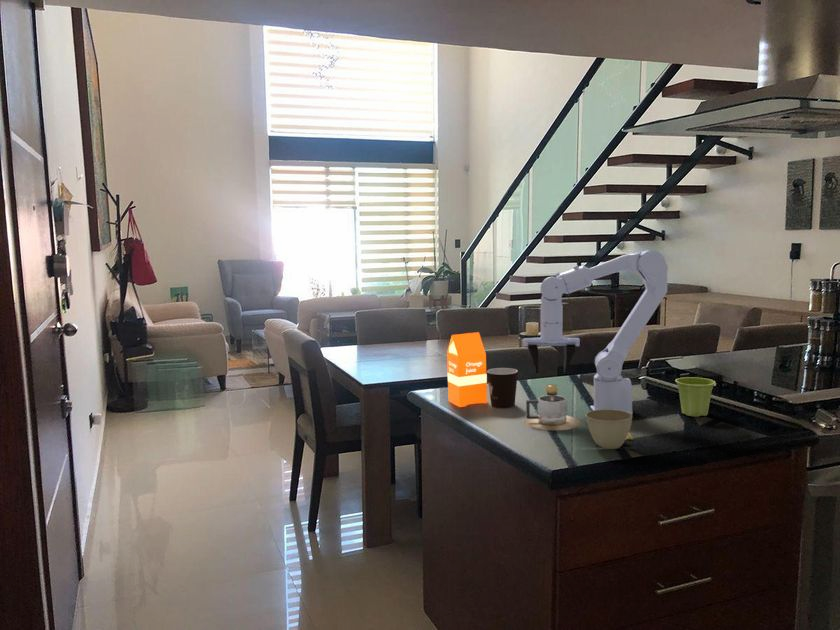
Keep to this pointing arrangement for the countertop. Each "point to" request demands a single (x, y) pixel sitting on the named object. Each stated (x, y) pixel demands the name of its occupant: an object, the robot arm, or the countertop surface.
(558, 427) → the cork mat
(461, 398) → the orange juice
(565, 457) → the countertop surface
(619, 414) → the beige bowl
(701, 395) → the plant pot
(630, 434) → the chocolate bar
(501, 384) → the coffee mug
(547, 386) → the plunger
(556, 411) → the press carafe
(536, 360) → the robot arm
